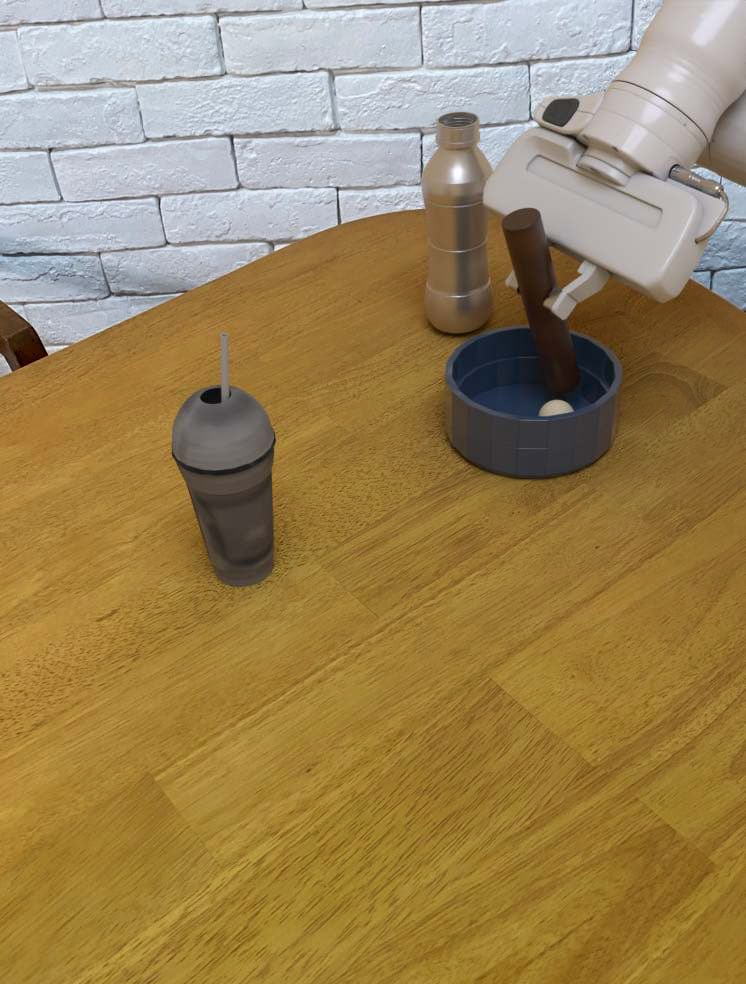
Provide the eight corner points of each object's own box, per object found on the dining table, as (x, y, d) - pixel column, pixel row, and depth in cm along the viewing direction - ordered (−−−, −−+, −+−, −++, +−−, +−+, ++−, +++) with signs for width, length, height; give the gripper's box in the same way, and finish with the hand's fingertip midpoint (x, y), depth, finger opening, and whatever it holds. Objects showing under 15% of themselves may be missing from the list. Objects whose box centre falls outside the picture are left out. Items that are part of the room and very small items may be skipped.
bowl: (579, 372, 102) (584, 313, 98) (642, 464, 91) (650, 402, 87) (427, 398, 100) (426, 340, 97) (472, 495, 90) (473, 433, 86)
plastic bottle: (506, 325, 109) (513, 119, 96) (451, 350, 106) (450, 141, 93) (464, 300, 113) (465, 99, 100) (410, 323, 110) (403, 119, 97)
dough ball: (552, 396, 95) (584, 408, 94) (539, 429, 96) (571, 442, 94) (541, 393, 92) (574, 405, 91) (528, 428, 93) (561, 440, 92)
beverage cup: (202, 535, 88) (158, 309, 75) (294, 532, 88) (266, 304, 75) (189, 600, 83) (140, 368, 70) (288, 598, 82) (257, 364, 69)
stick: (579, 367, 96) (538, 203, 86) (583, 388, 94) (541, 222, 84) (544, 375, 97) (499, 214, 87) (547, 397, 95) (502, 234, 85)
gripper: (757, 212, 83) (645, 371, 85) (566, 132, 96) (475, 273, 99) (724, 170, 78) (607, 340, 81) (528, 93, 91) (433, 241, 94)
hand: (533, 302), depth 90 cm, fingers closed on stick, 3 cm apart
